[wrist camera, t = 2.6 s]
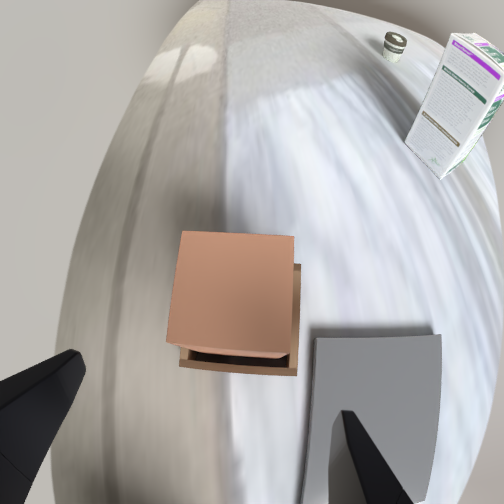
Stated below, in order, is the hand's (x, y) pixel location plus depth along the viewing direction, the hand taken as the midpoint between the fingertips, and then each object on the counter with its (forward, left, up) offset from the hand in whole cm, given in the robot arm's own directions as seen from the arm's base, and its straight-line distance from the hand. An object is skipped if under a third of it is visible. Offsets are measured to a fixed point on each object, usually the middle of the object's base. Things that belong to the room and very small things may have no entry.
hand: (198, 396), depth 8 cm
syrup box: (+22, -19, -11) cm, 32 cm away
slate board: (-4, -10, -11) cm, 16 cm away
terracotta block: (+4, 0, -11) cm, 12 cm away
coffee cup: (+42, -19, -12) cm, 48 cm away
